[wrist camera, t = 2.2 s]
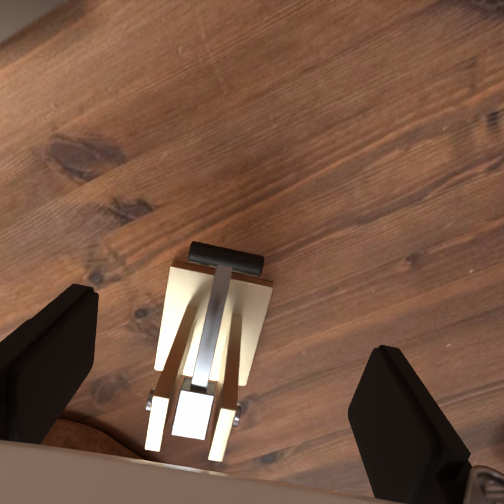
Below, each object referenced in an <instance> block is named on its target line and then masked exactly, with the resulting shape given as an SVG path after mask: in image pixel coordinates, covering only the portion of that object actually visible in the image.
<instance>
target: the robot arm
mask: <svg viewBox="0 0 504 504" xmlns="http://www.w3.org/2000/svg"><path fill="white" fill-rule="evenodd" d="M98 300H99V295H98V293H96V292H94V289H93V287H89V286H84V285H79V284H72V285H71V286H70V287H68V288H67V289H66V290H65V291H64V292H62V293H61V294H60V295H59V296H58V297H57V298H55V299H54V300H53V301H52V302H51V303H49V304H48V305H47V306H46V307H45V308H43V309H42V310H41V311H40V312H39V313H37V314H36V315H35V316H34V317H33V318H31V319H29V320H27V321H25V322H24V323H23V324H22V325H21V326H19V327H18V328H17V329H16V330H14V331H13V332H12V333H11V334H10V335H8V336H7V337H6V338H5V339H4V340H2V341H1V342H0V504H504V474H502V473H500V472H499V471H497V470H495V469H493V468H490V467H487V466H482V465H476V466H473V467H472V465H471V464H470V462H469V461H468V458H469V457H470V455H471V453H470V452H469V450H468V449H467V447H466V446H465V444H464V443H463V441H462V440H461V439H460V437H459V436H458V434H457V433H456V431H455V430H454V428H453V427H452V425H451V424H450V422H449V421H448V419H447V418H446V417H445V415H444V414H443V412H442V411H441V409H440V408H439V406H438V405H437V403H436V402H435V400H434V399H433V397H432V396H431V395H430V393H429V392H428V390H427V389H426V387H425V386H424V384H423V383H422V381H421V380H420V378H419V377H418V375H417V374H416V372H415V371H414V370H413V368H412V367H411V365H410V364H409V362H408V361H407V359H406V358H405V356H404V355H403V353H402V352H401V350H400V349H399V348H395V347H390V346H385V345H380V346H379V347H378V348H374V349H373V351H372V353H371V355H370V358H369V360H368V363H367V365H366V367H365V370H364V372H363V375H362V377H361V379H360V382H359V384H358V387H357V389H356V391H355V394H354V396H353V398H352V401H351V403H350V406H349V409H348V419H349V422H350V425H351V428H352V431H353V434H354V437H355V440H356V443H357V446H358V449H359V452H360V455H361V458H362V461H363V464H364V467H365V470H366V473H367V475H368V478H369V481H370V484H371V487H372V490H373V493H374V496H375V498H371V497H365V496H359V495H353V494H347V493H341V492H335V491H329V490H324V489H318V488H312V487H306V486H300V485H294V484H288V483H282V482H276V481H270V480H264V479H258V478H252V477H245V476H239V475H233V474H227V473H221V472H215V471H208V470H202V469H196V468H190V467H184V466H177V465H171V464H165V463H158V462H152V461H146V460H139V459H133V458H126V457H120V456H114V455H107V454H101V453H95V452H88V451H81V450H74V449H67V448H60V447H53V446H46V445H40V444H41V442H42V441H43V440H44V438H45V437H46V435H47V434H48V432H49V431H50V429H51V428H52V426H53V425H54V423H55V422H56V421H57V419H58V418H59V416H60V415H61V413H62V412H63V410H64V409H65V407H66V406H67V404H68V403H69V402H70V400H71V399H72V397H73V396H74V394H75V393H76V391H77V390H78V388H79V387H80V385H81V384H82V383H83V381H84V380H85V378H86V377H87V375H88V374H89V372H90V370H91V368H92V366H93V362H94V351H95V338H96V325H97V312H98Z"/></svg>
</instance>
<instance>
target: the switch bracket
mask: <svg viewBox="0 0 504 504" xmlns="http://www.w3.org/2000/svg"><path fill="white" fill-rule="evenodd" d="M214 275H215V270H213V269H209V268H204V267H199V266H194V265H190V264H185V263H180V262H176V261H173V262H172V264H171V265H170V269H169V275H168V282H167V288H166V295H165V301H164V308H163V314H162V321H161V327H160V333H159V340H158V346H157V353H156V359H155V366H154V369H155V370H160V371H162V373H161V375H160V378H159V381H158V383H157V386H156V388H152V389H151V390H150V393H149V396H148V399H147V403H146V411H148V412H150V416H149V423H148V429H147V435H146V441H145V449H146V450H152V451H158V452H160V450H161V447H162V443H163V440H164V436H165V433H166V430H167V426H168V423H169V419H170V416H171V412H172V409H173V405H174V402H175V399H176V395H177V392H178V388H179V385H180V381H181V378H182V375H187V376H192V375H193V371H194V366H195V362H196V357H197V353H198V348H199V344H200V339H201V334H202V330H203V325H204V321H205V316H206V312H207V307H208V302H209V298H210V293H211V289H212V284H213V280H214ZM272 291H273V282H270V281H266V280H261V279H256V278H251V277H247V276H242V275H237V274H232V275H231V279H230V284H229V289H228V293H227V298H226V303H225V307H224V312H223V317H222V321H221V326H220V330H219V335H218V340H217V344H216V349H215V354H214V358H213V363H212V368H211V372H210V377H209V380H214V381H218V387H217V394H216V402H215V409H214V416H213V423H212V430H211V437H210V444H209V452H208V460H213V461H219V462H222V461H223V459H224V455H225V452H226V448H227V445H228V441H229V437H230V434H231V430H232V427H237V426H238V423H239V419H240V413H241V404H238V403H237V400H238V385H241V386H246V384H247V380H248V377H249V373H250V370H251V366H252V362H253V359H254V355H255V352H256V348H257V345H258V341H259V338H260V334H261V330H262V327H263V323H264V320H265V316H266V313H267V309H268V305H269V302H270V298H271V295H272Z"/></svg>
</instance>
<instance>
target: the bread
mask: <svg viewBox="0 0 504 504" xmlns="http://www.w3.org/2000/svg"><path fill="white" fill-rule="evenodd" d="M40 445H46V446H53V447H60V448H67V449H74V450H81V451H88V452H95V453H101V454H107V455H114V456H120V457H126V458H133V459H139V460H144V459H142V458H141V457H139V456H138V455H136V454H135V453H134V452H132V451H130V450H129V449H127V448H126V447H124V446H123V445H121V444H119V443H118V442H116V441H115V440H113V439H112V438H111V437H109V436H108V435H106V434H104V433H103V432H101V431H99V430H97V429H95V428H92V427H90V426H87V425H84V424H80V423H77V422H73V421H69V420H64V419H57V421H56V422H55V423H54V425H53V426H52V428H51V429H50V431H49V432H48V434H47V435H46V437H45V438H44V440H43V441H42V442H41V444H40Z"/></svg>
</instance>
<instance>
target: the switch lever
mask: <svg viewBox="0 0 504 504" xmlns="http://www.w3.org/2000/svg"><path fill="white" fill-rule="evenodd" d="M188 261H189V262H193V263H197V264H202V265H207V266H212V267H216V270H215V275H214V280H213V284H212V289H211V293H210V298H209V302H208V307H207V312H206V316H205V321H204V325H203V330H202V334H201V339H200V344H199V348H198V353H197V357H196V362H195V366H194V371H193V375H192V379H189V378H184V381H183V383H182V386H181V389H180V392H179V397H178V401H177V406H176V410H175V415H174V419H173V424H172V429H171V435H176V436H182V437H188V438H193V439H199V440H205V439H206V435H207V430H208V425H209V420H210V416H211V411H212V406H213V402H214V397H215V383H211V382H209V377H210V372H211V368H212V363H213V358H214V354H215V349H216V344H217V340H218V335H219V330H220V326H221V321H222V317H223V312H224V307H225V303H226V298H227V293H228V289H229V284H230V279H231V275H232V271H235V272H240V273H245V274H249V275H254V276H260V275H261V273H262V269H263V264H264V256H260V255H256V254H251V253H247V252H242V251H237V250H233V249H228V248H224V247H219V246H214V245H210V244H205V243H200V242H196V241H192V243H191V246H190V250H189V255H188Z"/></svg>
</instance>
